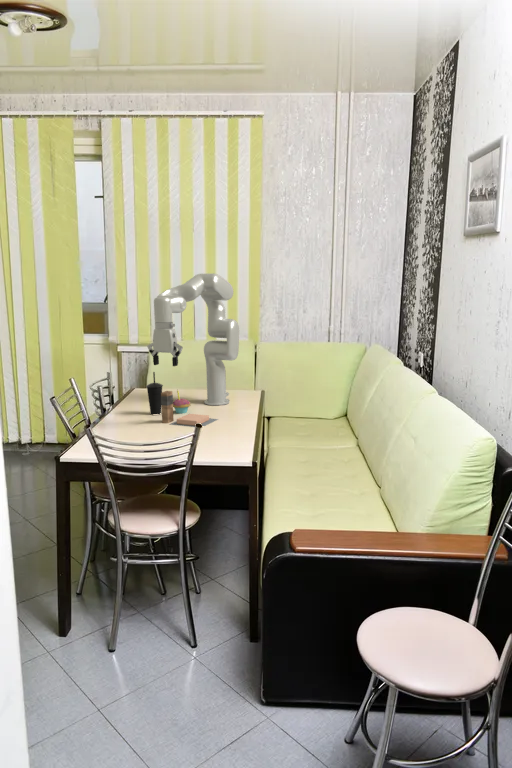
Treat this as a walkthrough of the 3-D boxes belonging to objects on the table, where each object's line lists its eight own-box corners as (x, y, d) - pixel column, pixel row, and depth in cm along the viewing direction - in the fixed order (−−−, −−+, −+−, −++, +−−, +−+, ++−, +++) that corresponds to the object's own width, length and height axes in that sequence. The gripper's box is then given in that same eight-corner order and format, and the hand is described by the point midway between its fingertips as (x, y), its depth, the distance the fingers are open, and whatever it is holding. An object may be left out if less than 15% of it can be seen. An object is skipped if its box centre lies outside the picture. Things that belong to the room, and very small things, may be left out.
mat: (187, 417, 284) (187, 416, 284) (218, 420, 278) (218, 419, 277) (168, 425, 270) (168, 424, 270) (200, 429, 263) (200, 427, 263)
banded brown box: (167, 421, 277) (166, 390, 275) (173, 422, 276) (172, 391, 273) (162, 423, 273) (160, 392, 271) (168, 424, 272) (166, 393, 269)
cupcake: (181, 416, 287) (180, 390, 284) (168, 414, 292) (167, 389, 289) (194, 412, 293) (193, 387, 291) (181, 410, 298) (180, 386, 296)
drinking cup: (161, 411, 297) (159, 370, 294) (165, 414, 290) (163, 372, 287) (146, 412, 295) (143, 371, 291) (149, 416, 288) (147, 373, 284)
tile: (189, 413, 280) (176, 419, 270) (209, 415, 275) (196, 421, 266) (189, 418, 280) (176, 424, 270) (209, 420, 276) (196, 426, 266)
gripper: (185, 325, 267) (187, 365, 270) (151, 324, 274) (153, 363, 277) (176, 327, 260) (178, 367, 263) (142, 326, 267) (144, 365, 270)
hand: (165, 365), depth 270 cm, fingers open, 9 cm apart
